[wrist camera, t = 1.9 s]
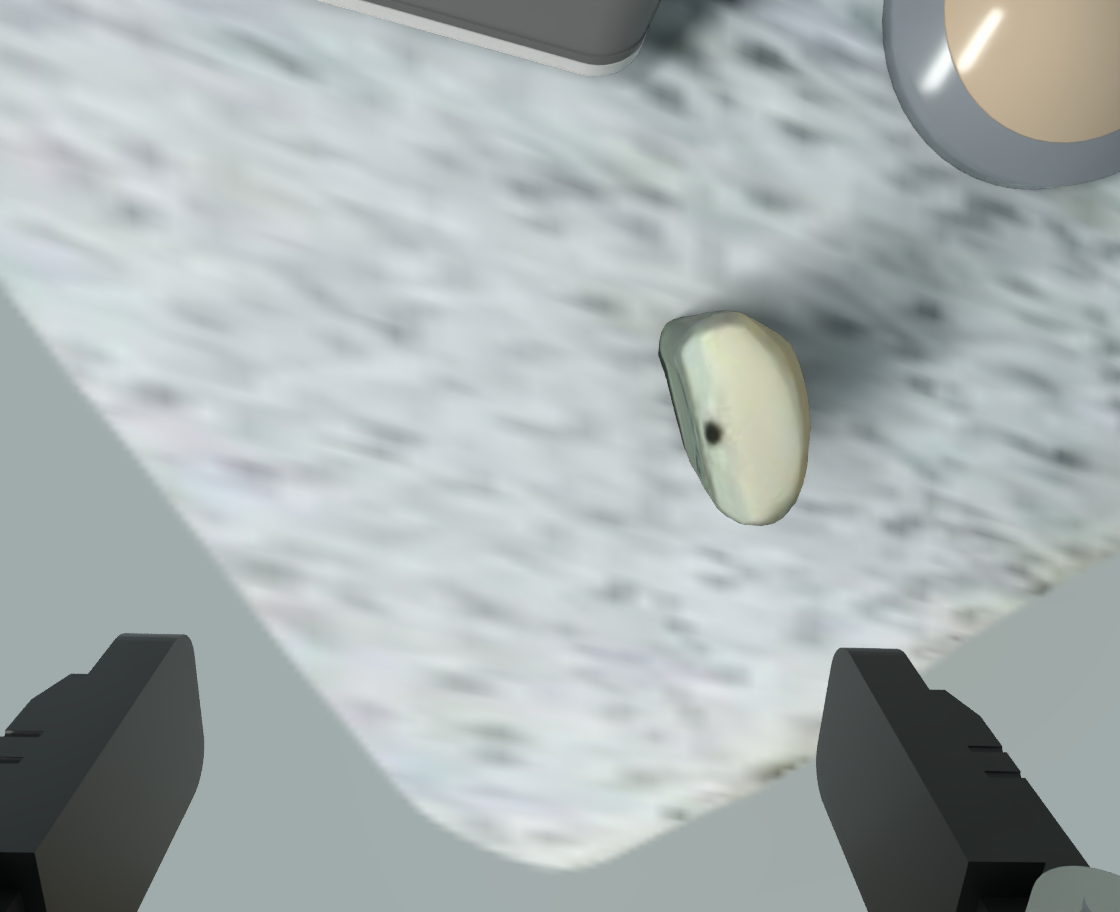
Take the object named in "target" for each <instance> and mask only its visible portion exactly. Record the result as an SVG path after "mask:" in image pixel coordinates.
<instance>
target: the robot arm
mask: <svg viewBox="0 0 1120 912" xmlns="http://www.w3.org/2000/svg"><path fill="white" fill-rule="evenodd" d="M203 758H204V735H203V726H202V717H201V709H200V700H199V691H198V683H197V673H196V665H195V656H194V649H193V645H192V642H191V640H190V638H189V637H188V636H187V635H181V634H135V633H132V634H131V633H124V634H121V635H119V636H118V637H117V638H116V639H115V640H114V641H113V643H112V644H111V645H110V647H109V648H108V649H107V650H106V652H105V653H104V654H103V656H102V657H101V658H100V659H99V661H98V662H97V663H96V665H95V666H94V667H93V668H92V670H91V671H90V672H89V674H70V675H68V676H67V677H65V678H64V679H62V680H61V681H59V682H58V683H56V684H55V685H53V686H52V687H50V688H48V689H47V690H45V691H44V692H42V693H41V694H39V695H38V696H36V697H35V698H33V699H31V701H30V702H29V703H28V704H27V705H26V707H25V708H24V709H23V710H22V711H21V712H20V714H19V715H18V716H17V717H16V718H15V719H14V721H13V722H12V723H11V724H10V725H9V727H8V728H7V729H6V730H5V736H4V737H0V912H137V911H138V909H139V907H140V905H141V903H142V901H143V898H144V896H145V894H146V892H147V890H148V888H149V886H150V884H151V882H152V880H153V878H154V876H155V874H156V872H157V870H158V868H159V866H160V864H161V862H162V860H163V858H164V856H165V854H166V852H167V849H168V847H169V845H170V843H171V841H172V839H173V837H174V835H175V833H176V831H177V829H178V827H179V825H180V823H181V821H182V819H183V817H184V815H185V813H186V811H187V809H188V807H189V804H190V803H191V800H192V798H193V796H194V794H195V792H196V789H197V786H198V784H199V780H200V776H201V771H202V765H203ZM816 768H817V780H818V786H819V791H820V795H821V798H822V801H823V803H824V806H825V809H826V811H827V814H828V816H829V818H830V821H831V823H832V826H833V828H834V830H835V833H836V835H837V838H838V840H839V843H840V845H841V847H842V850H843V852H844V855H845V857H846V860H847V862H848V864H849V867H850V869H851V872H852V874H853V877H854V879H855V881H856V884H857V886H858V889H859V891H860V893H861V896H862V898H863V901H864V903H865V906H866V907H867V910H868V912H1120V876H1119V875H1116V874H1113V873H1111V872H1107V871H1103V870H1100V869H1096V868H1090V866H1089V865H1088V864H1087V862H1086V861H1085V859H1084V858H1083V857H1082V855H1081V854H1080V853H1079V851H1078V850H1077V849H1076V847H1075V846H1074V844H1073V843H1072V842H1071V840H1070V839H1069V837H1068V836H1067V835H1066V833H1065V832H1064V831H1063V830H1062V828H1061V827H1060V825H1059V824H1058V822H1057V821H1056V820H1055V818H1054V817H1053V816H1052V814H1051V813H1050V811H1049V810H1048V809H1047V807H1046V806H1045V805H1044V803H1043V802H1042V800H1041V799H1040V798H1039V796H1038V795H1037V793H1036V792H1035V791H1034V789H1033V788H1032V787H1031V786H1030V784H1029V783H1028V781H1027V780H1026V779H1025V778H1021V775H1020V770H1019V769H1018V768H1017V766H1016V765H1015V763H1014V762H1013V761H1012V759H1011V758H1010V757H1009V755H1008V754H1007V753H1006V752H1004V753H1003V751H1002V746H1001V744H1000V743H999V741H998V740H997V739H996V737H995V736H994V734H993V733H992V732H991V730H990V729H989V728H988V726H987V725H986V723H985V722H984V721H983V719H982V718H981V717H980V716H979V715H978V714H977V713H975V712H974V711H973V710H971V709H970V708H969V707H967V706H966V705H964V704H963V703H962V702H960V701H959V700H958V699H956V698H955V697H954V696H952V695H951V694H950V693H948V692H947V691H945V690H929V688H928V687H927V685H926V684H925V682H924V681H923V679H922V678H921V676H920V675H919V673H918V672H917V670H916V669H915V668H914V666H913V665H912V663H911V662H910V660H909V659H908V657H907V656H906V654H905V653H904V652H903V651H901V650H900V649H879V648H839V649H838V650H837V651H836V653H835V655H834V657H833V660H832V665H831V670H830V676H829V681H828V687H827V693H826V699H825V705H824V711H823V716H822V722H821V728H820V734H819V740H818V745H817V755H816Z"/></svg>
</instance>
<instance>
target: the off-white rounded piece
mask: <svg viewBox="0 0 1120 912" xmlns="http://www.w3.org/2000/svg"><path fill="white" fill-rule="evenodd" d="M658 355H659V358H660V361H661V364H662V367H663V370H664V372H665V376H666V379H667V383H668V387H669V391H670V395H671V400H672V403H673V407H674V411H675V415H676V419H677V422H678V426H679V429H680V433H681V437H682V441H683V445H684V448H685V450H686V452H687V455H688V458H689V461H690V463H691V465H692V467H693V468H694V470H695V472H696V473H697V475H698V477H699V479H700V481H701V483H702V485H703V487H704V489H705V490H706V492H707V493H708V494H709V496H710V498H711V499H712V501H713V502H714V504H715V506H716V507H717V509H718V510H719V511H721V512H722V513H723V514H724V515H726V516H727V517H729V518H731V519H733V520H734V521H736V522H738V523H740V524H744V525H755V526H763V525H769V524H773V523H775V522H777V521H778V520H780V519H782V518H783V517H784V516H785V515H786V514H787V513H788V512H789V511H790V509H791V507H792V506H793V505H794V504H795V503H796V501H797V498H798V496H799V493H800V491H801V488H802V485H803V482H804V477H805V473H806V468H807V462H808V447H809V438H810V430H811V424H810V410H809V403H808V396H807V390H806V387H805V383H804V378H803V374H802V371H801V367H800V364H799V362H798V359H797V357H796V355H795V353H794V350H793V348H792V346H791V344H790V343H789V342H788V341H787V340H786V339H784V338H783V337H782V336H781V335H780V334H778V333H776V332H775V331H773V330H771V329H769V328H768V327H766V326H764V325H763V324H761V323H759V322H758V321H756V320H754V319H752V318H750V317H748V316H746V315H744V314H742V313H738V312H732V311H717V312H708V313H703V314H699V315H694V316H689V317H681V318H677V319H674V320H672V321H670V322H668V323H667V324H666V325H665V327H664V329H663V330H662V333H661V337H660V341H659V352H658Z"/></svg>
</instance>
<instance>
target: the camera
mask: <svg viewBox="0 0 1120 912" xmlns="http://www.w3.org/2000/svg"><path fill="white" fill-rule="evenodd" d="M317 1H320V2H324V3H328V4H331V5H335V6H338V7H342V8H345V9H349V10H352V11H356V12H360V13H363V14H367V15H370V16H374V17H377V18H381V19H385V20H388V21H392V22H395V23H399V24H402V25H406V26H409V27H413V28H417V29H420V30H424V31H427V32H431V33H434V34H438V35H441V36H445V37H449V38H452V39H456V40H459V41H463V42H466V43H470V44H474V45H477V46H481V47H484V48H488V49H491V50H495V51H498V52H502V53H506V54H509V55H513V56H516V57H520V58H523V59H527V60H530V61H534V62H538V63H541V64H545V65H548V66H552V67H555V68H559V69H563V70H566V71H570V72H573V73H577V74H581V75H585V76H606V75H610V74H613V73H616V72H618V71H620V70H622V69H624V68H625V67H627V66H628V65H629V64H630V63H631V62H632V61H633V60H634V59H635V57H636V56H637V54H638V53H639V51H640V49H641V46H642V44H643V42H644V40H645V37H646V35H647V31H648V28H649V26H650V23H651V21H652V19H653V17H654V15H655V12H656V10H657V8H658V6H659V3H660V1H661V0H317Z"/></svg>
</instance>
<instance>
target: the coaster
mask: <svg viewBox="0 0 1120 912" xmlns="http://www.w3.org/2000/svg"><path fill="white" fill-rule="evenodd" d="M882 25H883V45H884V51H885V58H886V64H887V69H888V72H889V75H890V79H891V82H892V86H893V89H894V91H895V93H896V96H897V98H898V100H899V102H900V105H901V107H902V109H903V111H904V113H905V114H906V116H907V117H908V119H909V121H910V122H911V124H912V126H913V127H914V129H915V130H916V131H917V132H918V134H919V135H920V136H921V137H922V139H923V140H924V141H925V142H926V144H927V145H928V146H930V147H931V148H932V149H933V150H934V151H935V152H936V153H937V154H938V155H939V156H940V157H941V158H942V159H944V160H945V161H947V162H948V163H950V164H951V165H953V166H954V167H955V168H957V169H958V170H960V171H962V172H964V173H966V174H968V175H970V176H972V177H974V178H976V179H978V180H981V181H984V182H987V183H990V184H993V185H997V186H1002V187H1008V188H1014V189H1035V190H1037V189H1046V188H1055V187H1061V186H1067V185H1073V184H1080V183H1085V182H1089V181H1093V180H1097V179H1101V178H1105V177H1108V176H1110V175H1113V174H1115V173H1118V172H1120V0H884V5H883V18H882Z"/></svg>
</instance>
